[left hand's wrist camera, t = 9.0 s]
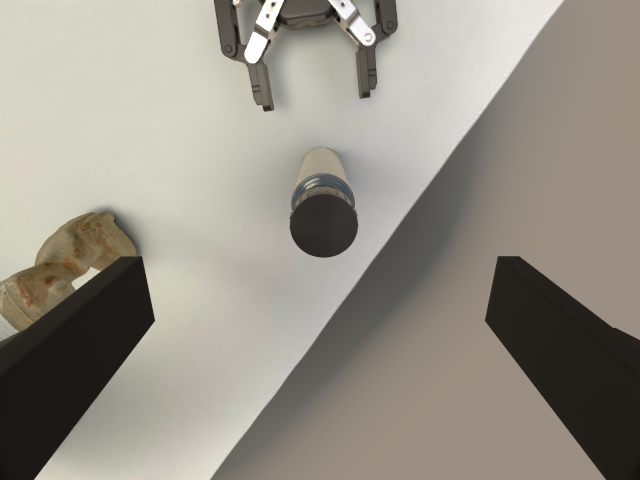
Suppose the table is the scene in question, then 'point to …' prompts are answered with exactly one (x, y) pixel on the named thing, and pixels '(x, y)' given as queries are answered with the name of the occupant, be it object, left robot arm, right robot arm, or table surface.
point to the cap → (323, 222)
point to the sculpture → (62, 267)
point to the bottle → (321, 174)
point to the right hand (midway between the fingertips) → (317, 104)
